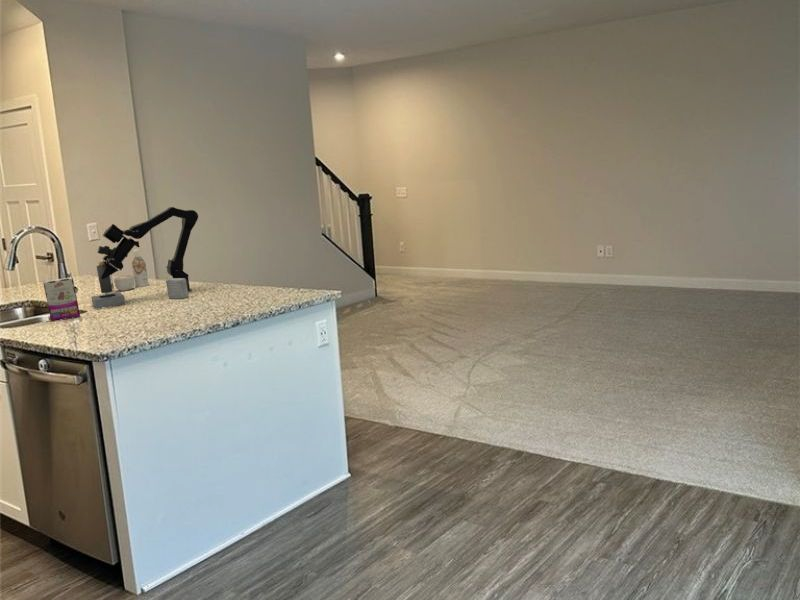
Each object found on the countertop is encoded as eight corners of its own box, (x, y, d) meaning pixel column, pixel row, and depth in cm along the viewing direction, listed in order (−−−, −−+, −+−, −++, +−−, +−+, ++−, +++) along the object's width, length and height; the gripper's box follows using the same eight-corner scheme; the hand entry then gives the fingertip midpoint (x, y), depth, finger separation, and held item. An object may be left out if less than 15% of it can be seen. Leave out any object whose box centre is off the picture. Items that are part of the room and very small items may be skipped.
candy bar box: (79, 314, 291) (72, 276, 288) (80, 316, 287) (73, 277, 284) (50, 319, 286) (42, 280, 283) (50, 321, 282) (43, 282, 279)
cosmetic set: (109, 295, 334) (102, 257, 331) (98, 294, 340) (91, 256, 336) (153, 285, 354) (147, 248, 350) (142, 284, 360) (136, 248, 356)
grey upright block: (114, 291, 308) (109, 261, 305) (104, 293, 305) (98, 263, 302) (109, 290, 311) (103, 261, 308) (99, 292, 308) (93, 262, 305)
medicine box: (189, 297, 311) (186, 278, 309) (182, 299, 307) (179, 280, 305) (175, 296, 314) (172, 278, 313) (168, 299, 310) (165, 280, 309)
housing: (120, 300, 317) (119, 292, 316) (125, 304, 307) (123, 295, 306) (92, 305, 311) (91, 296, 310) (96, 309, 301) (94, 300, 300)
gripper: (103, 237, 313) (82, 265, 310) (110, 239, 297) (87, 269, 294) (125, 252, 318) (103, 279, 315) (132, 255, 303) (110, 284, 299)
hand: (101, 277), depth 306 cm, fingers closed on grey upright block, 5 cm apart
